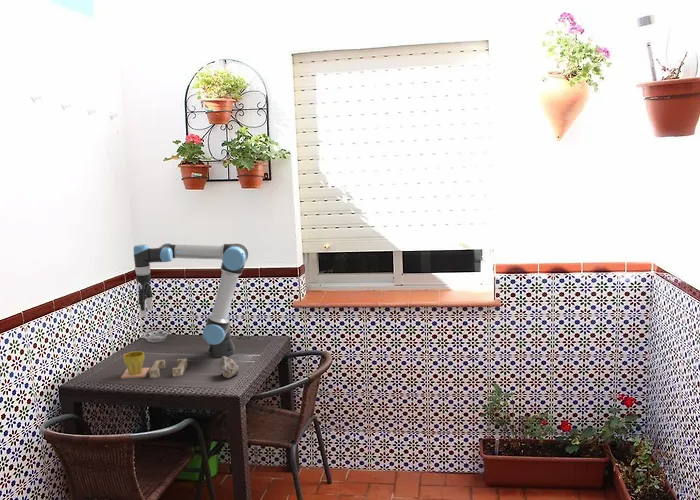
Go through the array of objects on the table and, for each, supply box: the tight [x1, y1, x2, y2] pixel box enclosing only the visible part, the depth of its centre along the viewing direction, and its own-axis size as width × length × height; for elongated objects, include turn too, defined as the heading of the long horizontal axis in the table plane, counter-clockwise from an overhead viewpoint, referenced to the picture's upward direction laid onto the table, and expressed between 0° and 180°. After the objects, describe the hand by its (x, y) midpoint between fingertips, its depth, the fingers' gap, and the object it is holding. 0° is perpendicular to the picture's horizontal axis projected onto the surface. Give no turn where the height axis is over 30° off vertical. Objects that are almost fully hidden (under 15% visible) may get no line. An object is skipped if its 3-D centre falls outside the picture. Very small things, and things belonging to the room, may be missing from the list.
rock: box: [218, 356, 240, 379], centre depth 332 cm, size 9×12×10 cm
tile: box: [120, 367, 151, 379], centre depth 342 cm, size 12×12×1 cm
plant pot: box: [122, 350, 146, 374], centre depth 341 cm, size 10×10×10 cm
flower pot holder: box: [148, 358, 188, 379], centre depth 343 cm, size 16×16×4 cm
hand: (146, 313), depth 352 cm, fingers open, 13 cm apart
